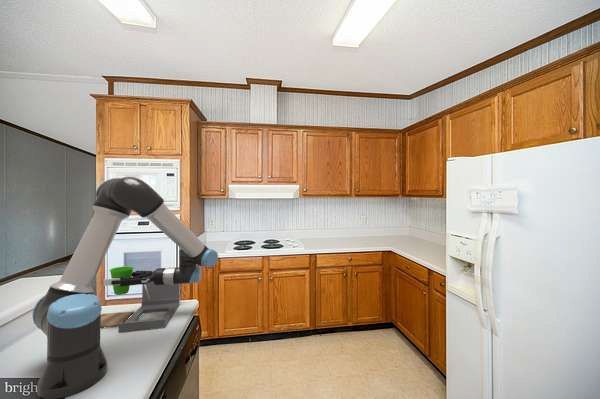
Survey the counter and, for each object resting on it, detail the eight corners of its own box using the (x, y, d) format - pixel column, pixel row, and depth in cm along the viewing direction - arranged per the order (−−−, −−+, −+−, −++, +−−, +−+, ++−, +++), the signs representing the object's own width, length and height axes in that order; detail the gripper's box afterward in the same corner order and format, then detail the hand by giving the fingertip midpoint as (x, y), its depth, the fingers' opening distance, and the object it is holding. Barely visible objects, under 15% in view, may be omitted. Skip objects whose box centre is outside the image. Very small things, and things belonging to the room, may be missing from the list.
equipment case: (179, 304, 128) (180, 270, 129) (164, 328, 104) (165, 285, 104) (143, 307, 125) (143, 272, 125) (118, 332, 100) (119, 288, 100)
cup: (123, 297, 107) (124, 271, 107) (103, 296, 107) (103, 271, 108) (138, 289, 116) (138, 266, 116) (119, 289, 116) (119, 265, 117)
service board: (133, 313, 118) (134, 311, 118) (120, 326, 105) (120, 324, 105) (102, 316, 115) (102, 313, 115) (84, 330, 102) (84, 327, 102)
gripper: (156, 292, 105) (95, 296, 100) (172, 277, 126) (122, 280, 121) (157, 274, 105) (95, 277, 100) (172, 262, 126) (122, 264, 122)
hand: (110, 279), depth 111 cm, fingers closed on cup, 9 cm apart
